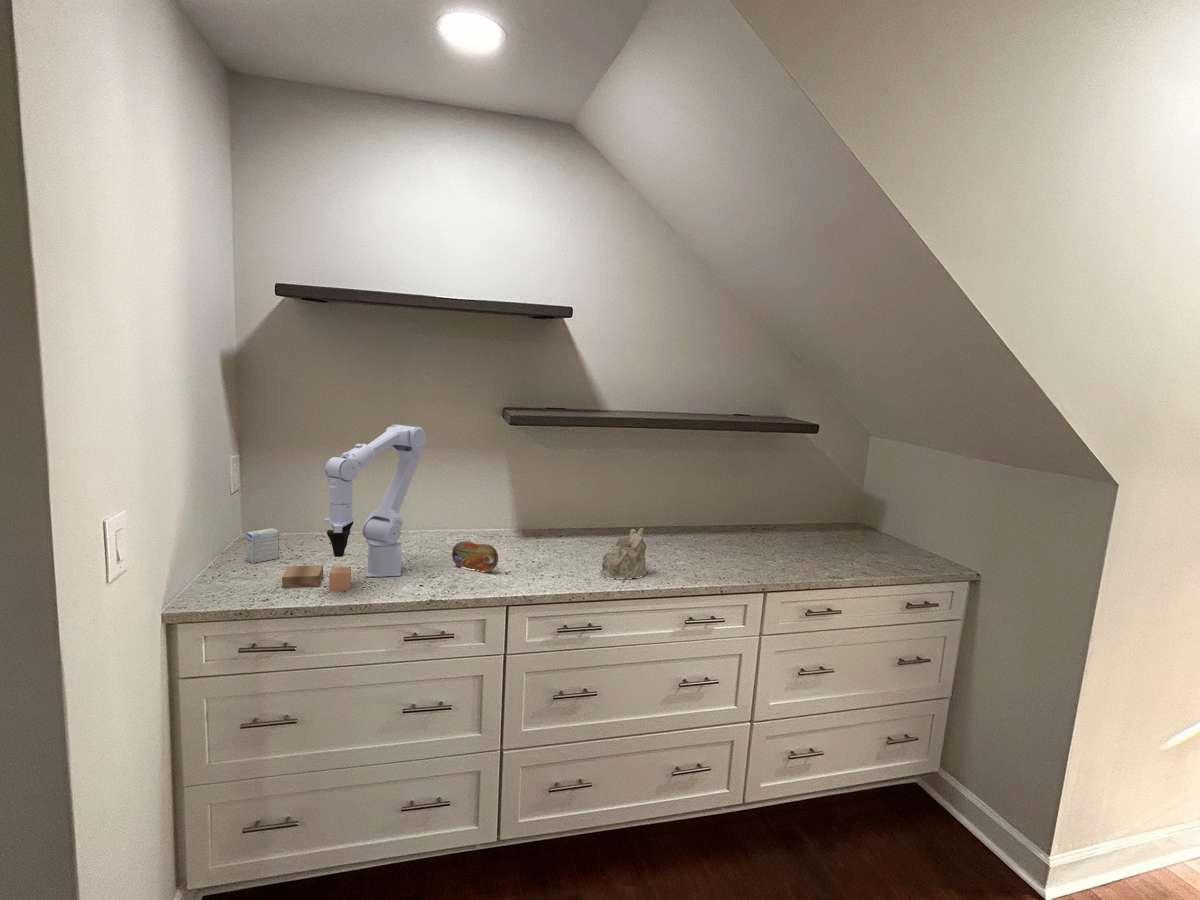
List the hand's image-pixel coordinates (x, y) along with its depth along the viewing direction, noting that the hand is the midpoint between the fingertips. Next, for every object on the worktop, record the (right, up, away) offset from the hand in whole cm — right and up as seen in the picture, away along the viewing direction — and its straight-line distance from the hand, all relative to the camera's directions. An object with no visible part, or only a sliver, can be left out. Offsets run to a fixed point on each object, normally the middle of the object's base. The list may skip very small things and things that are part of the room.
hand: (340, 552), depth 169 cm
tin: (+32, -9, +23) cm, 40 cm away
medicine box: (-31, -6, +20) cm, 38 cm away
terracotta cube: (-1, -10, +1) cm, 10 cm away
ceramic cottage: (+76, -11, +30) cm, 83 cm away
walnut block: (-12, -9, +4) cm, 15 cm away
